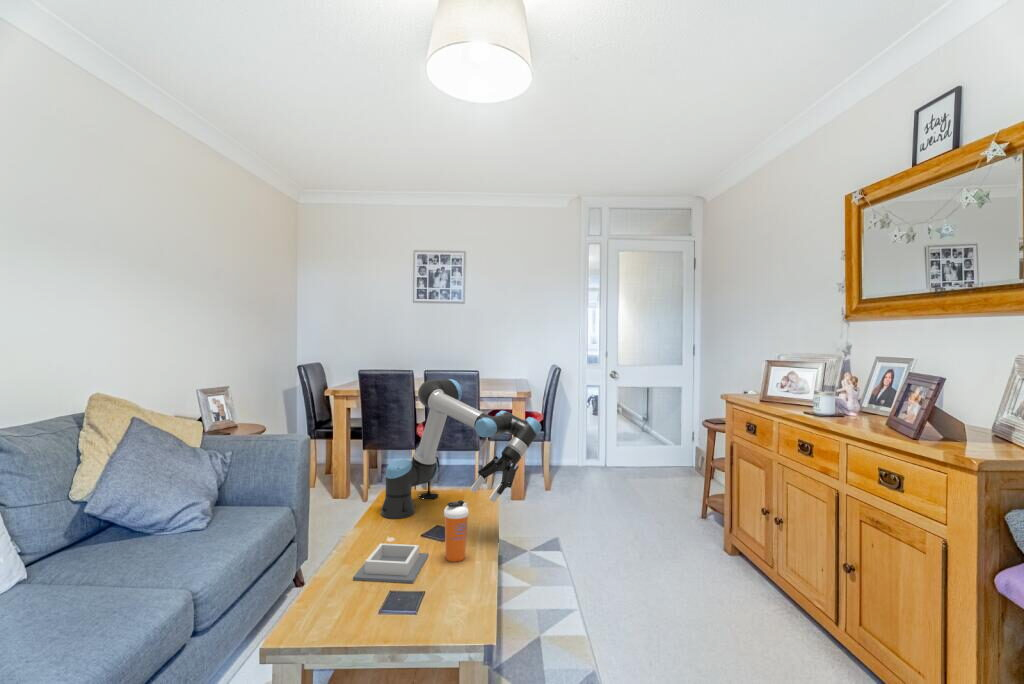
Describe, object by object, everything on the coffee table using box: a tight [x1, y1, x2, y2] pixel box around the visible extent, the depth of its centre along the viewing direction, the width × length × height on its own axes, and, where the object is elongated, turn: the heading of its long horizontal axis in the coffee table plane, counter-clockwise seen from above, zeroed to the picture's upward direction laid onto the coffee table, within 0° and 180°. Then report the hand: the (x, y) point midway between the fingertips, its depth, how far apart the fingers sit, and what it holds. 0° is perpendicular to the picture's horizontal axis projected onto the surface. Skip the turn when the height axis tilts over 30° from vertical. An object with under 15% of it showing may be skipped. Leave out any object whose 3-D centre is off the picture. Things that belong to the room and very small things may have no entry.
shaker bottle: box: [443, 499, 469, 563], centre depth 169 cm, size 9×9×20 cm
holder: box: [352, 543, 429, 584], centre depth 160 cm, size 20×20×5 cm
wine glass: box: [418, 455, 440, 500], centre depth 237 cm, size 10×10×20 cm
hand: (481, 495), depth 175 cm, fingers open, 13 cm apart
